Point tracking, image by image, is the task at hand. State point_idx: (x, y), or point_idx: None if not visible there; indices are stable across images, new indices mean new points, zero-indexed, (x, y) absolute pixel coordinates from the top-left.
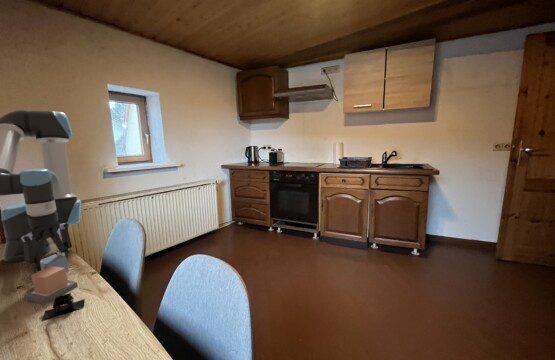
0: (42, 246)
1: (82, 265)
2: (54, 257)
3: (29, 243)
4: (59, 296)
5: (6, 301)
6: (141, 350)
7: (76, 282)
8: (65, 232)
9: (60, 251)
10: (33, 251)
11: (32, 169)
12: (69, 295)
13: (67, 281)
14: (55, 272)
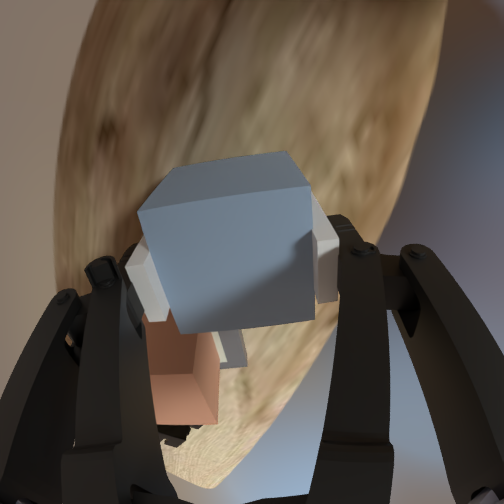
0: (152, 443)
1: (388, 187)
2: (267, 262)
3: (46, 494)
4: (161, 435)
5: (57, 237)
6: (201, 484)
7: (245, 366)
8: (451, 468)
9: (339, 261)
10: (83, 352)
11: None
12: (179, 444)
13: (232, 337)
14: (177, 424)
